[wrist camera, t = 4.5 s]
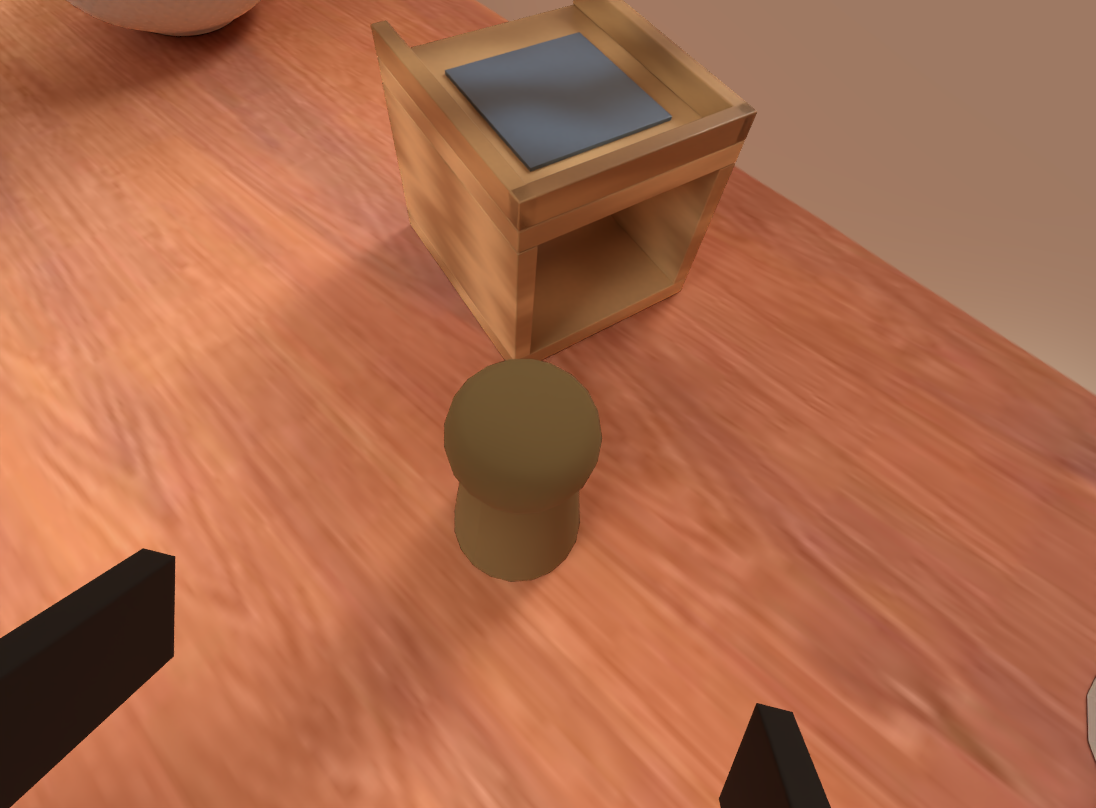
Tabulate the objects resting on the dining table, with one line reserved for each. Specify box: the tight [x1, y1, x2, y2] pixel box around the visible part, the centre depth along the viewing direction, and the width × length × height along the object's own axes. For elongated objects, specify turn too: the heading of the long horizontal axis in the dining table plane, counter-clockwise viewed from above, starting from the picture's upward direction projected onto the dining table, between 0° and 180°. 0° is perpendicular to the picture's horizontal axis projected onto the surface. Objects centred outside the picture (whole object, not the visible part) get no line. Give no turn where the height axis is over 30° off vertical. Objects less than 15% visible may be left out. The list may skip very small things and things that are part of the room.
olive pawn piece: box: [444, 359, 602, 582], centre depth 21 cm, size 6×6×11 cm
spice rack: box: [371, 0, 757, 361], centre depth 29 cm, size 13×12×12 cm
